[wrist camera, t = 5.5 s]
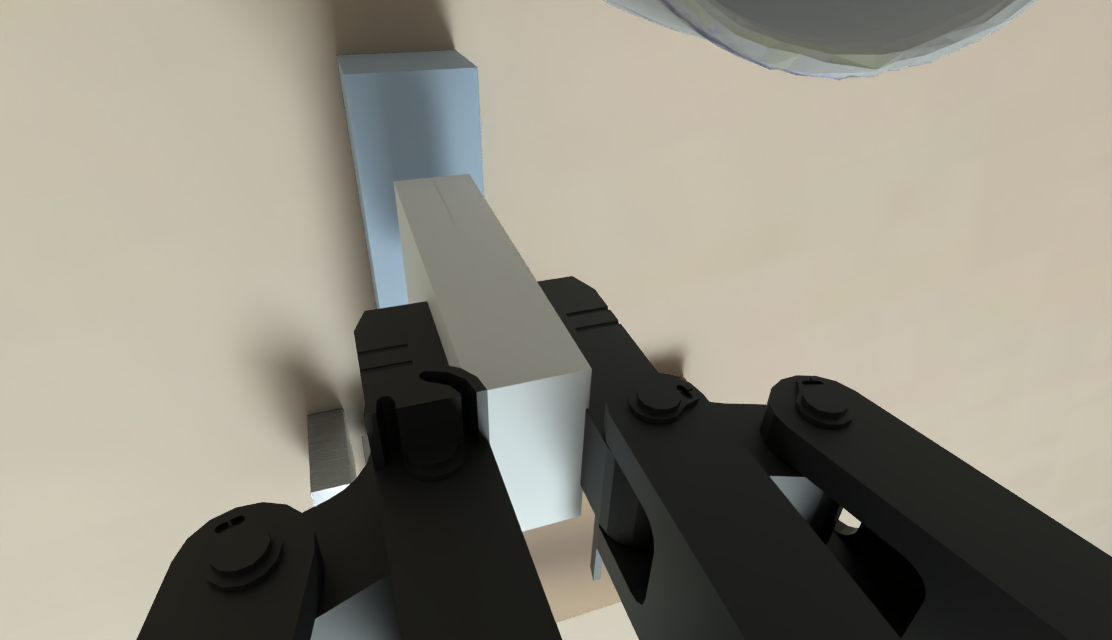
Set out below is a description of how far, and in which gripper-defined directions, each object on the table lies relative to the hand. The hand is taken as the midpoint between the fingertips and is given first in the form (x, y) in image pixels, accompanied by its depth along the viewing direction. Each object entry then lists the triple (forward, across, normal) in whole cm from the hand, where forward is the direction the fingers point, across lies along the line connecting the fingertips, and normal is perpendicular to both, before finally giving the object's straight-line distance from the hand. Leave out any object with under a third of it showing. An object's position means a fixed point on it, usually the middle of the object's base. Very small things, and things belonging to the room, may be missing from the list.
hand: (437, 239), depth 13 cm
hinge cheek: (+3, -3, -8) cm, 9 cm away
